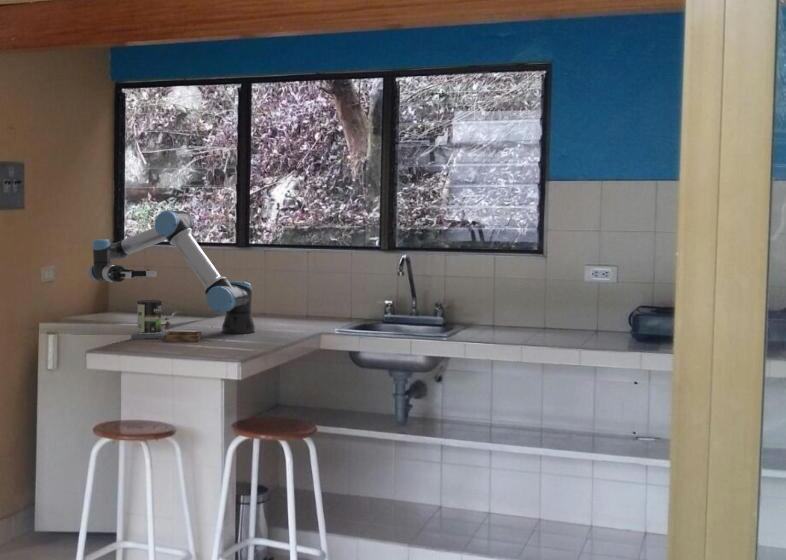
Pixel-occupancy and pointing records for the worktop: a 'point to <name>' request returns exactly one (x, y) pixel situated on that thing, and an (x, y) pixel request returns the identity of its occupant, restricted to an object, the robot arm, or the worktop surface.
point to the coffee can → (149, 317)
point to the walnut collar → (182, 336)
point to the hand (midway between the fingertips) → (143, 274)
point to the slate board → (147, 335)
